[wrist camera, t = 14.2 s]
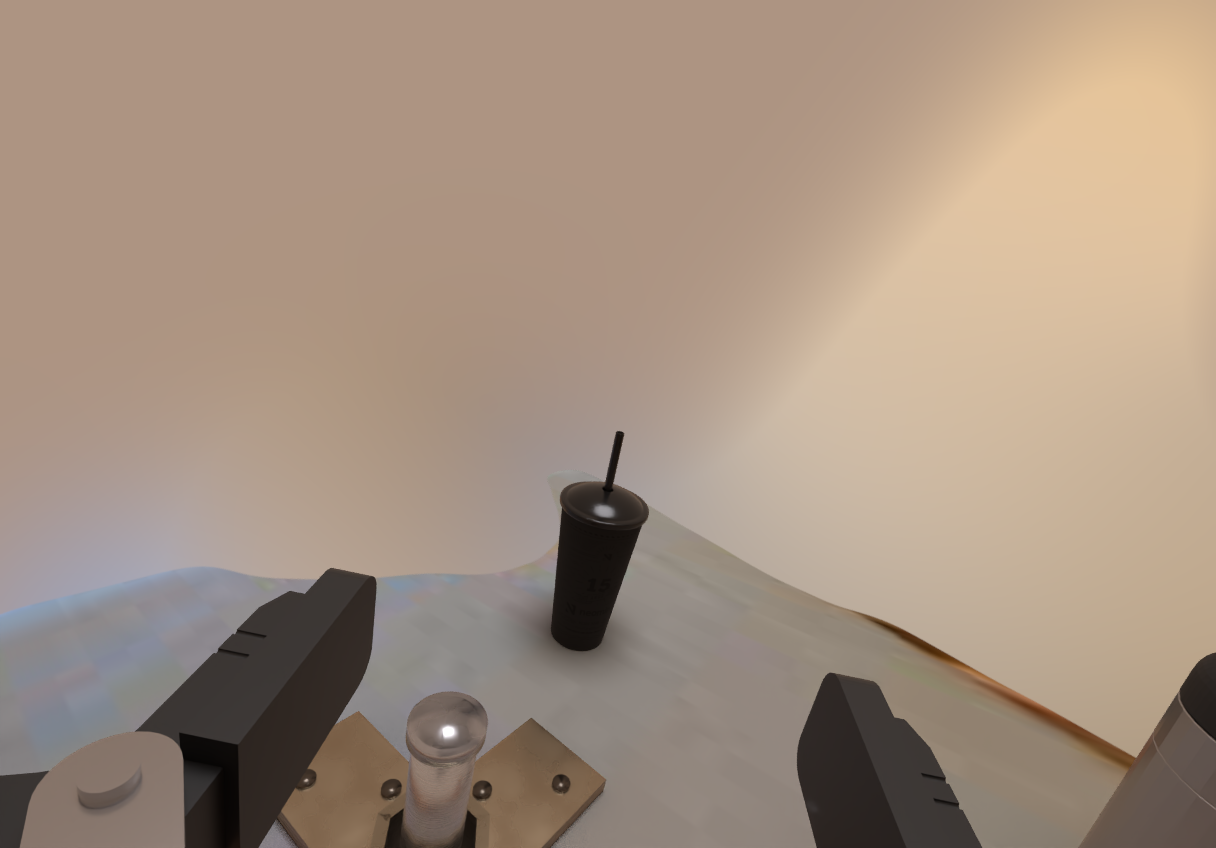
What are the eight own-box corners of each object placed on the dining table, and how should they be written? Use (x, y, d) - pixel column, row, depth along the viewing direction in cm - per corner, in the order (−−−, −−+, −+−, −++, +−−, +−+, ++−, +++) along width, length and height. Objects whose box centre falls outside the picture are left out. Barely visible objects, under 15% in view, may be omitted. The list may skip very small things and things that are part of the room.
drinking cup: (523, 613, 57) (558, 414, 50) (594, 601, 61) (636, 415, 54) (555, 670, 51) (600, 453, 44) (632, 653, 55) (684, 451, 48)
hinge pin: (430, 840, 36) (453, 680, 32) (474, 887, 34) (503, 723, 30) (373, 889, 33) (390, 719, 29) (417, 945, 31) (441, 770, 27)
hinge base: (453, 664, 49) (459, 624, 48) (603, 790, 41) (614, 746, 40) (252, 784, 37) (252, 734, 35) (410, 997, 29) (417, 942, 28)
